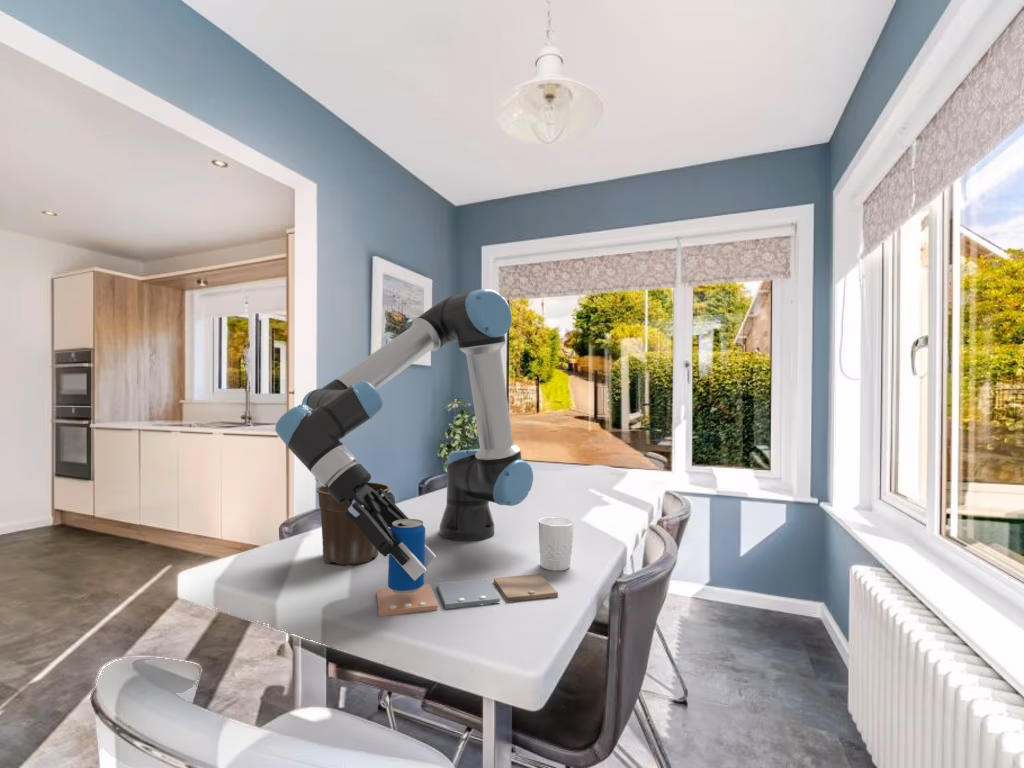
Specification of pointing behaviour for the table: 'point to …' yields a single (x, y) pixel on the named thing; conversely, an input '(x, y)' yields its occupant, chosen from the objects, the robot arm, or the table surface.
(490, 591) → the two-dot tile
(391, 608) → the three-dot tile
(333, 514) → the plant pot
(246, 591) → the table surface
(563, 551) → the white cup
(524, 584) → the one-dot tile
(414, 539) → the beverage can
